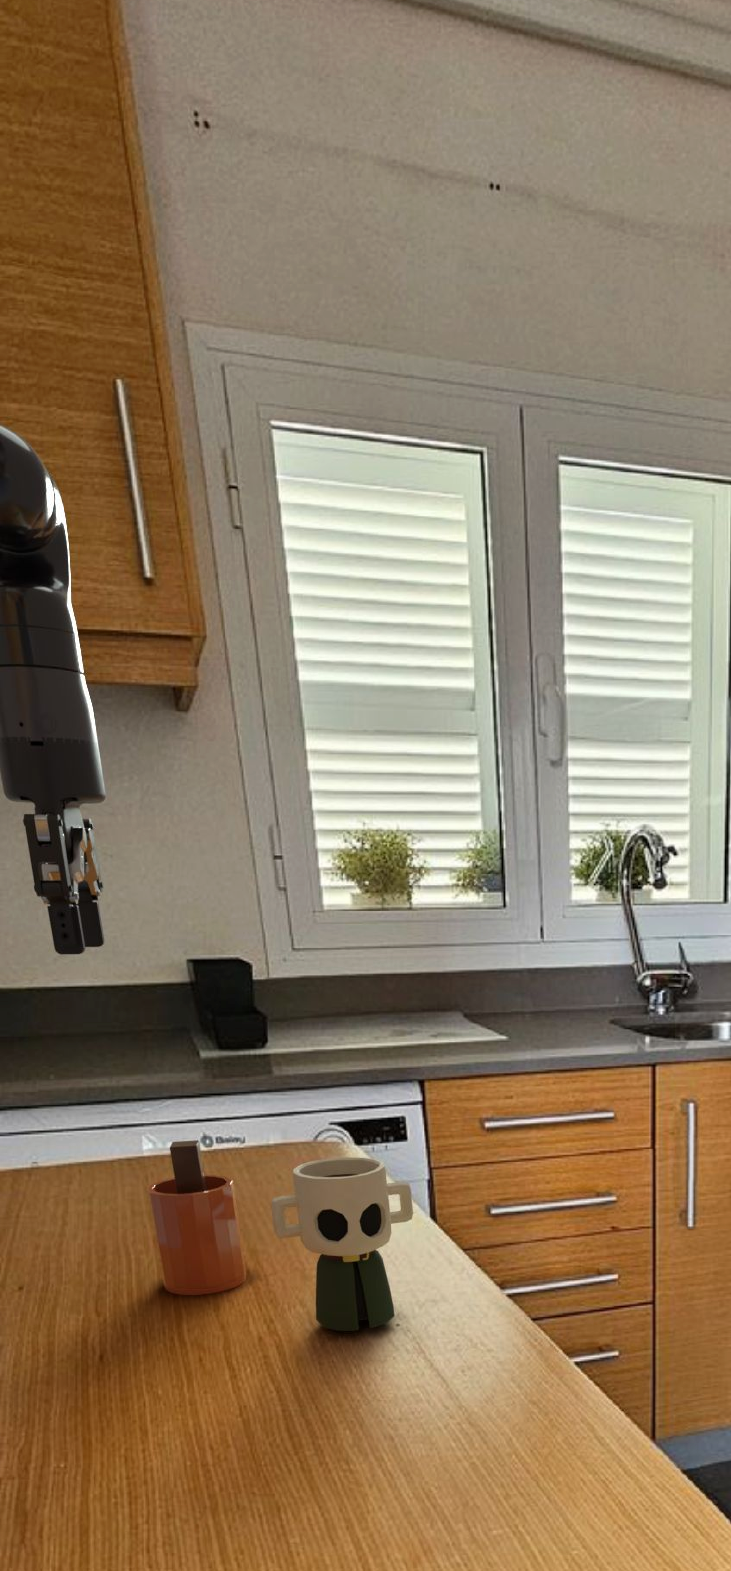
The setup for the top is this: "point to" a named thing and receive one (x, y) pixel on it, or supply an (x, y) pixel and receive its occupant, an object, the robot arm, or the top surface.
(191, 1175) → the stick
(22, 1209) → the top surface
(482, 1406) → the top surface
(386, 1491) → the top surface
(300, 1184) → the character mug
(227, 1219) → the tumbler
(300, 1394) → the top surface
